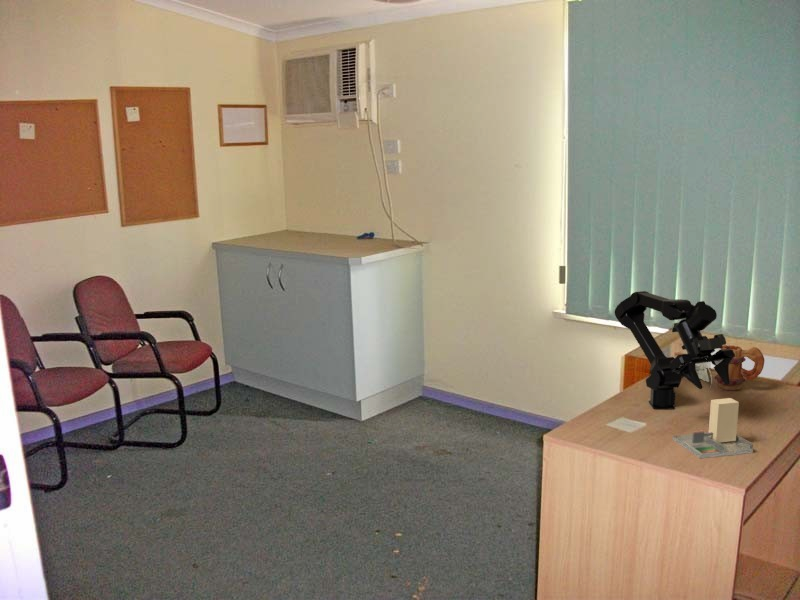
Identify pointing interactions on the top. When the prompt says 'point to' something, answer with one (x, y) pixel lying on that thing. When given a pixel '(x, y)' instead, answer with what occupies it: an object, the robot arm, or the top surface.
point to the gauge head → (723, 420)
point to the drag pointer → (698, 437)
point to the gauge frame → (714, 446)
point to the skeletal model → (703, 372)
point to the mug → (736, 367)
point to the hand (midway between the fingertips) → (714, 386)
